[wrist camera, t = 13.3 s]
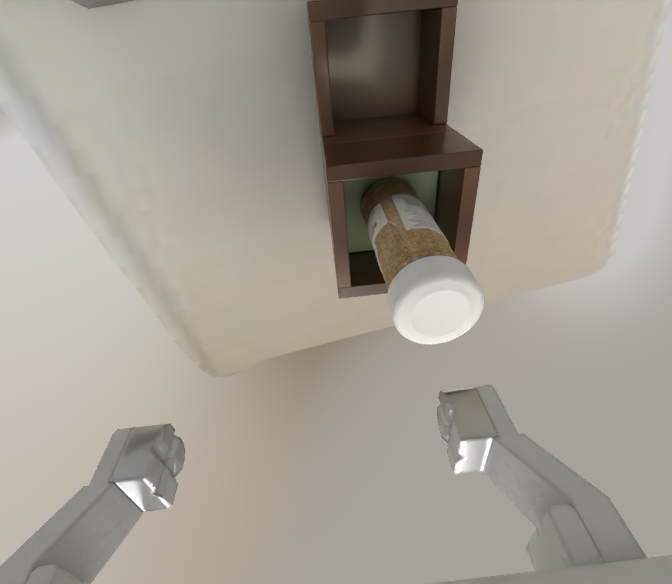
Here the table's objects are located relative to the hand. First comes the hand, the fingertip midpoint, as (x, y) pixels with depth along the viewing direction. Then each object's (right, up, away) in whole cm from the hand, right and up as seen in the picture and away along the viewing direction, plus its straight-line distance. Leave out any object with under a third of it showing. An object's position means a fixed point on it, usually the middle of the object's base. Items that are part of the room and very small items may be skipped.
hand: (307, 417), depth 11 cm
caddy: (+4, +19, +22) cm, 29 cm away
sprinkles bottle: (+5, +11, +18) cm, 21 cm away
